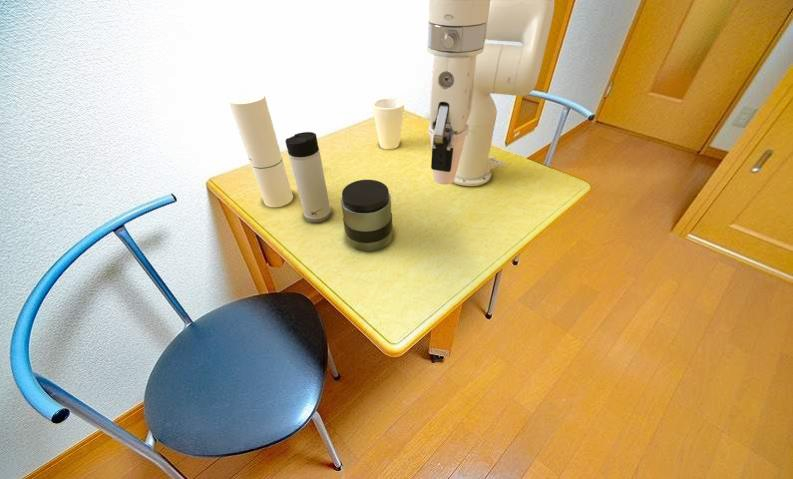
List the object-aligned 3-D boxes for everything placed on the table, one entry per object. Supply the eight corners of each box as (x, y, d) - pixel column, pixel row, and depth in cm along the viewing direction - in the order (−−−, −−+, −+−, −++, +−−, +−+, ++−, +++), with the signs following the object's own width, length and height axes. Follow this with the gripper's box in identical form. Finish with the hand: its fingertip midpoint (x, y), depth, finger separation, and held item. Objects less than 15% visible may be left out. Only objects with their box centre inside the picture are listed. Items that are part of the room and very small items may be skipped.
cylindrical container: (283, 188, 86) (254, 89, 70) (298, 198, 83) (271, 97, 66) (259, 199, 83) (221, 98, 66) (272, 211, 79) (237, 106, 62)
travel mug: (320, 226, 74) (301, 145, 61) (299, 217, 77) (277, 137, 63) (337, 212, 78) (323, 132, 65) (317, 204, 81) (299, 126, 67)
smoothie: (461, 190, 55) (472, 107, 45) (423, 187, 56) (426, 105, 46) (463, 170, 59) (473, 91, 50) (428, 168, 60) (432, 89, 51)
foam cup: (378, 137, 109) (375, 97, 100) (405, 138, 108) (405, 98, 99) (372, 150, 102) (369, 108, 93) (401, 152, 101) (401, 109, 92)
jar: (388, 218, 76) (386, 175, 68) (396, 248, 68) (395, 203, 61) (344, 224, 75) (337, 181, 67) (348, 255, 67) (340, 210, 59)
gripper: (474, 56, 36) (457, 191, 48) (492, 25, 48) (475, 140, 60) (410, 52, 38) (409, 183, 50) (443, 24, 50) (436, 135, 62)
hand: (445, 158), depth 55 cm, fingers closed on smoothie, 6 cm apart
